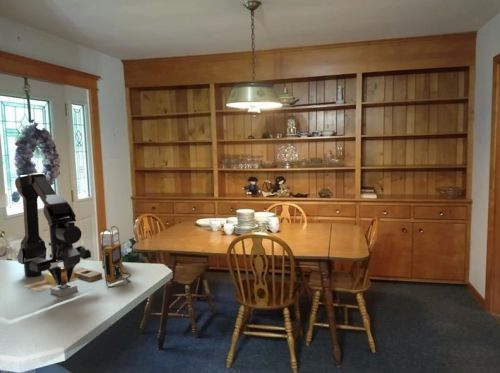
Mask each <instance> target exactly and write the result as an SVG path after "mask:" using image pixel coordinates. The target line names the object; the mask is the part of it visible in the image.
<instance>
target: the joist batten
mask: <svg viewBox="0 0 500 373" xmlns="http://www.w3.org/2000/svg"><path fill="white" fill-rule="evenodd" d="M73 270H74V274H75V277H77V278H78V279H80V280H83V281H87V282H93V281H96V280H98V279H102V278H103V274H102V272H99V271H95V270H92V269H89V268H85V267H81V266H75V267H74V269H73Z"/></svg>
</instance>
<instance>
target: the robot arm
mask: <svg viewBox="0 0 500 373" xmlns="http://www.w3.org/2000/svg"><path fill="white" fill-rule="evenodd" d="M14 185H15V187H16V189H17V190H16V191H17V193H18V195H20V197H21V198H22V206H23V208H22V210H23V223H24V236H23V238H22V240H21V242H20V248H19V251H18V253H17V256H16V258H17V259H16V260H17V263H19V264H20V265H23V269H24V270H23V271H24V277H26V278H36V277H40V276H42V272H46V271H48V272H50V273H51V275H52V276H53V278H54V280H55V281H56V283H57V286H58V285H59V286H60V285H61V280H60V272H59V271H60V269H61V267H62V266H59V264H60V263H63V267H67V274H68V283H70V282H71V281H70V278H71V275H72V272H73V269H74V268H76V267H77V265H78V264H79V263H80V262H81V259H82V260H86V259H87V260H88V259H89V258H92V252H91V250H90V249H88V248H86V247H85V246H84V245H79V246H75V247H74V245H73V244H76V243H78V242H79V241H80V239H81V237H82V230H81V229H80V227H78V226H76V225H75V222H77V218H76V214H75V212H74V210H73V208H72V206H71V204H70V203H69V202H68V201H67V200H66V199H65V197H62V196H60V195H58V194H57V193H56V192H55V189H54V188H53V187H52V185H51V184H50V182H49V181H48V179H47V175H46V173H43V172H34V173H30V174H24V175H18V177H17V178H16V179H15V181H14ZM38 198H40V200H41V201H42V203H43V208H42V209H43V211H42V212H43V215H44V217H45V219H46V221H47V225H48V226H49V237H50V240H49V242H48V246H50V251H51V253H50V254H49V259H46V258H47V246H46V242H45V241H44V239H42V237H41V236H40V227H39V224H40V223H39V208H38V206H39V205H38Z"/></svg>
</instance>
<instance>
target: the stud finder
mask: <svg viewBox="0 0 500 373" xmlns="http://www.w3.org/2000/svg"><path fill="white" fill-rule="evenodd" d="M72 278H75V274H74V270H73V272H72V275H71V278H70V279H72ZM44 280H45V281H46V282H49V283H52V284H56V281H55V280H54V278H53V276H52V275H51V273H50V272H49V271H48V272H45V273H44Z"/></svg>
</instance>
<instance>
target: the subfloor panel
mask: <svg viewBox="0 0 500 373" xmlns="http://www.w3.org/2000/svg"><path fill="white" fill-rule="evenodd" d="M77 279H79V278H77V277H75V278H72V279H70V282H71V281H75V280H77ZM55 286H58V285H57V283H56V284H52V283H49V282H46V281H45V279H43V280H39V281H35V282H32V283H29V284H25V285H24V287H25V288H28V289H30V290H33V291H36V292H42V291H45V290H47V289H50V288H52V287H55Z"/></svg>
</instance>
